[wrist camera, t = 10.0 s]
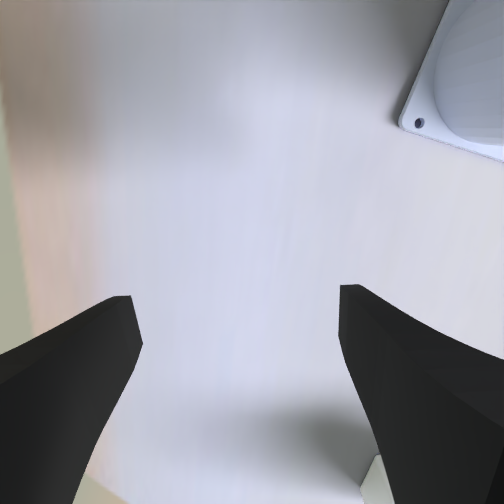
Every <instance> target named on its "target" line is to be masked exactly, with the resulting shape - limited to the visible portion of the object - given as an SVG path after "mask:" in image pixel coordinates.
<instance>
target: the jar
mask: <svg viewBox="0 0 504 504" xmlns="http://www.w3.org/2000/svg"><path fill="white" fill-rule="evenodd" d="M360 491H361V494H362V498H363V502H364V504H395V503H394V499H393V496H392V492H391V489H390V485H389V482H388V478H387V475H386V471H385V468H384V465H383V461H382V458H381V455H380V454H379V455H376V456H375V458H374V460H373V462H372V464H371V466H370V468H369V471H368V473H367V475H366V477H365V479H364V481H363V483H362V485H361V487H360Z"/></svg>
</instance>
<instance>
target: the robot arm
mask: <svg viewBox="0 0 504 504" xmlns="http://www.w3.org/2000/svg"><path fill="white" fill-rule="evenodd" d="M418 118H419V119H420V120H421V125H420V126H419V127H418V128H416V127H415V125H414V123H415V121H416V119H418ZM398 123H399V127H400V128H401V129H402V130H405V131H408V132H411V133H414V134H417V135H420V136H423V137H426V138H429V139H433V140H436V141H439V142H442V143H445V144H448V145H451V146H454V147H457V148H461V149H464V150H467V151H470V152H473V153H476V154H479V155H482V156H485V157H488V158H492V159H495V160H498V161H501V162H504V0H450V1H449V3H448V5H447V8H446V10H445V12H444V15H443V17H442V19H441V22H440V24H439V26H438V29H437V31H436V33H435V36H434V38H433V40H432V43H431V45H430V47H429V50H428V52H427V54H426V57H425V59H424V61H423V64H422V66H421V68H420V71H419V73H418V75H417V78H416V80H415V82H414V85H413V87H412V89H411V91H410V94H409V96H408V98H407V101H406V103H405V105H404V108H403V110H402V112H401V115H400V117H399V121H398ZM338 336H339V340H340V344H341V348H342V352H343V356H344V360H345V363H346V366H347V368H348V371H349V373H350V376H351V378H352V381H353V383H354V386H355V388H356V390H357V393H358V395H359V398H360V400H361V403H362V405H363V408H364V410H365V412H366V415H367V417H368V420H369V422H370V425H371V427H372V430H373V433H374V436H375V438H376V441H377V445H378V448H379V451H380V455H381V458H382V461H383V465H384V468H385V471H386V475H387V478H388V482H389V485H390V489H391V492H392V496H393V499H394V503H395V504H504V360H503V359H500V358H498V357H495V356H492V355H490V354H487V353H485V352H482V351H480V350H477V349H475V348H473V347H470V346H468V345H466V344H464V343H462V342H459V341H457V340H455V339H453V338H451V337H449V336H446V335H444V334H442V333H440V332H438V331H436V330H434V329H433V328H431V327H429V326H427V325H425V324H423V323H422V322H420V321H418V320H416V319H414V318H413V317H411V316H409V315H408V314H406V313H404V312H403V311H401V310H399V309H398V308H396V307H394V306H393V305H391V304H390V303H388V302H387V301H385V300H383V299H382V298H380V297H379V296H377V295H376V294H374V293H373V292H371V291H369V290H368V289H366V288H365V287H363V286H361V285H359V284H354V285H340V305H339V332H338ZM142 345H143V342H142V338H141V334H140V330H139V326H138V322H137V318H136V314H135V310H134V306H133V302H132V298H131V296H114V297H111V298H109V299H106V300H104V301H102V302H100V303H98V304H96V305H95V306H93V307H91V308H89V309H87V310H85V311H84V312H82V313H80V314H78V315H76V316H75V317H73V318H71V319H69V320H67V321H66V322H64V323H62V324H60V325H58V326H57V327H55V328H53V329H51V330H49V331H47V332H45V333H43V334H41V335H39V336H37V337H35V338H34V339H32V340H30V341H28V342H26V343H24V344H22V345H20V346H18V347H16V348H14V349H11V350H9V351H8V352H5V353H3V354H1V355H0V504H72V503H73V500H74V498H75V495H76V492H77V490H78V487H79V484H80V482H81V479H82V477H83V474H84V472H85V469H86V467H87V464H88V462H89V459H90V457H91V455H92V452H93V450H94V447H95V445H96V443H97V441H98V439H99V437H100V434H101V432H102V430H103V428H104V427H105V425H106V423H107V421H108V419H109V417H110V415H111V413H112V411H113V409H114V407H115V405H116V404H117V402H118V400H119V398H120V396H121V394H122V392H123V390H124V388H125V386H126V384H127V382H128V380H129V378H130V377H131V374H132V372H133V370H134V368H135V365H136V363H137V360H138V357H139V354H140V351H141V348H142Z"/></svg>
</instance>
